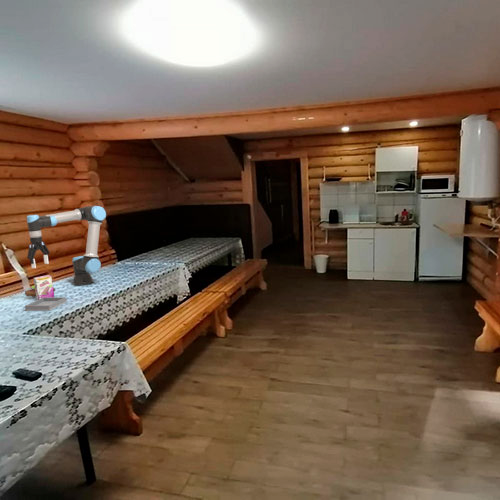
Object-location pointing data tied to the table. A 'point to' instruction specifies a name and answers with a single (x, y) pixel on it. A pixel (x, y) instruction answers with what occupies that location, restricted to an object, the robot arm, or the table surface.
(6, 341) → the table surface
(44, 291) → the candy bar box
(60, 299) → the holder
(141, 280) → the table surface
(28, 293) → the plant
